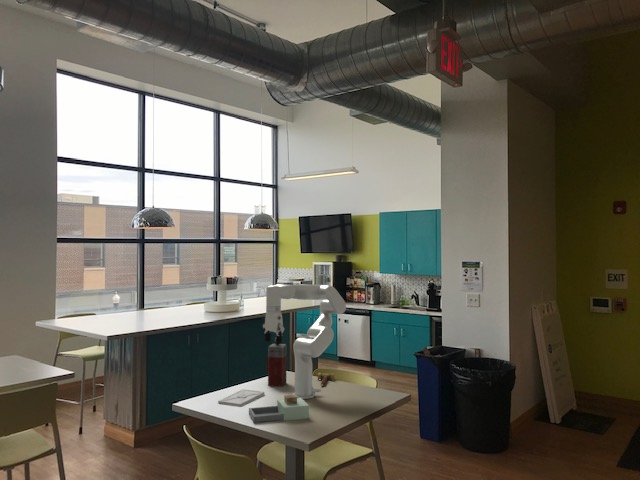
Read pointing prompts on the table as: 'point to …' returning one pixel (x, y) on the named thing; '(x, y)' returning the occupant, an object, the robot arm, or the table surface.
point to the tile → (290, 399)
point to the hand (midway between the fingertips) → (273, 342)
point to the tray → (265, 414)
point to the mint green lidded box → (293, 409)
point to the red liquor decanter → (276, 364)
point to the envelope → (241, 397)
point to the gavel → (325, 377)
